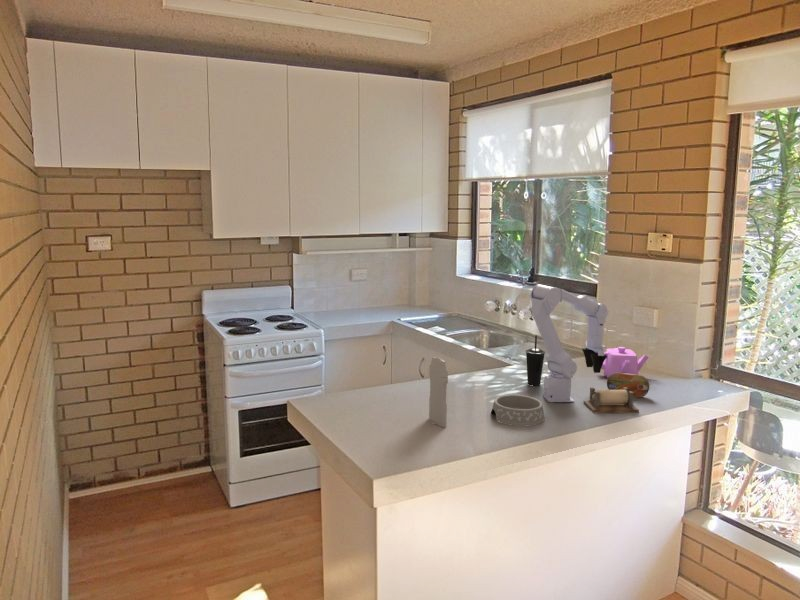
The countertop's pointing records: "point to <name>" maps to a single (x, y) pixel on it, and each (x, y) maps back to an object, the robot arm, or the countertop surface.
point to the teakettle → (622, 361)
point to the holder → (610, 408)
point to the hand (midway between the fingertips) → (593, 369)
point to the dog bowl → (518, 410)
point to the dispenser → (438, 392)
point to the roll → (612, 396)
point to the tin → (629, 383)
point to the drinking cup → (534, 364)
